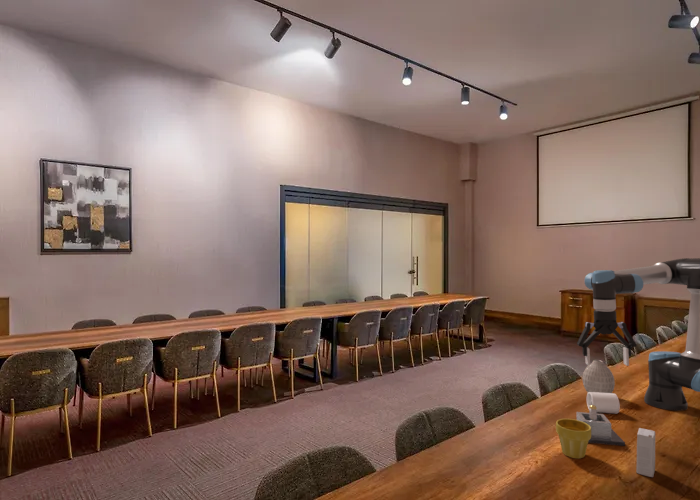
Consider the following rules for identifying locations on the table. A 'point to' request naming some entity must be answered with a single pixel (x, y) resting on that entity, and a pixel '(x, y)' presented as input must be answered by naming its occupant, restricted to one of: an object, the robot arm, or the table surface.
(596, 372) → the vase
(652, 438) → the skincare box
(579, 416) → the link
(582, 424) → the plant pot
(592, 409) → the keeper
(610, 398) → the mug
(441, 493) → the table surface
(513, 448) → the table surface
